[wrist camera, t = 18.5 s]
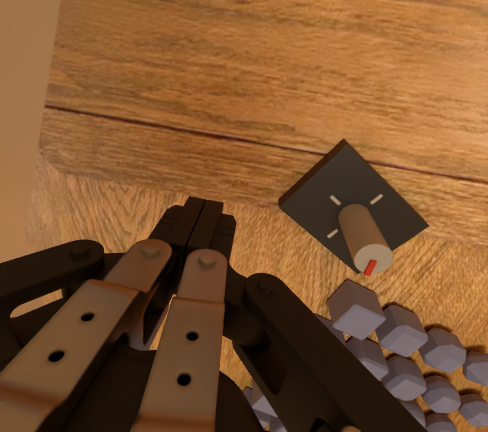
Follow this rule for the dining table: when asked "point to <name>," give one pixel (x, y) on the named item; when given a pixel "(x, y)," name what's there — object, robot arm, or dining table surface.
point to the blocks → (398, 360)
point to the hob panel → (348, 202)
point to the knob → (364, 240)
